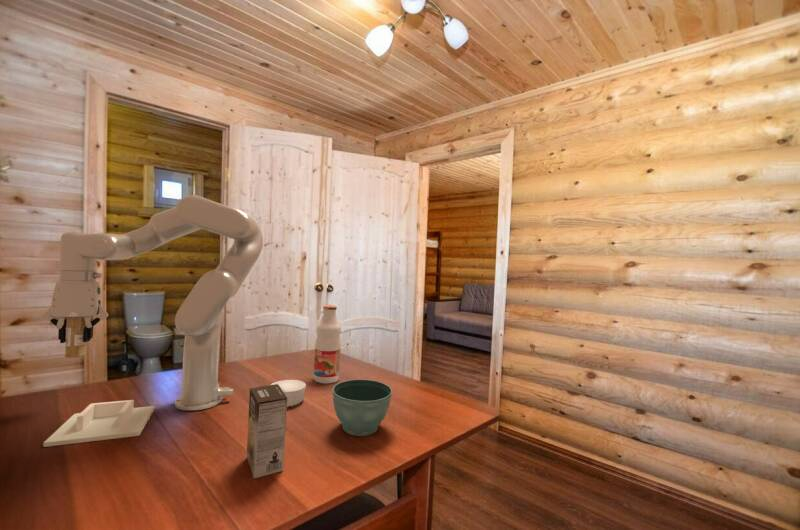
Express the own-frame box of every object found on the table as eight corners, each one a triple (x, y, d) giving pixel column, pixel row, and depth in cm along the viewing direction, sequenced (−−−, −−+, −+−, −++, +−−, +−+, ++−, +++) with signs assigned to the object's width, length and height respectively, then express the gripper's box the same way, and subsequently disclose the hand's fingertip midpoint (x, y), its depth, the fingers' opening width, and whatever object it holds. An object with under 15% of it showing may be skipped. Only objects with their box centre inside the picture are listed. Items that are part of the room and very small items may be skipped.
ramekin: (260, 404, 110) (260, 387, 110) (284, 392, 120) (285, 377, 120) (289, 412, 106) (290, 394, 106) (312, 399, 116) (312, 383, 116)
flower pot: (398, 422, 103) (400, 384, 103) (376, 449, 88) (378, 405, 87) (347, 411, 108) (349, 375, 108) (318, 435, 93) (321, 393, 93)
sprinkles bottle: (84, 357, 100) (86, 309, 100) (62, 359, 98) (64, 310, 97) (87, 353, 104) (89, 307, 104) (66, 355, 101) (67, 307, 101)
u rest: (154, 409, 103) (155, 393, 103) (139, 435, 88) (140, 417, 88) (74, 417, 96) (75, 400, 95) (43, 447, 81) (44, 427, 81)
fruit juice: (344, 380, 136) (347, 306, 135) (324, 386, 128) (328, 308, 128) (327, 374, 142) (331, 303, 141) (308, 379, 134) (312, 305, 134)
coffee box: (245, 457, 81) (248, 387, 81) (274, 450, 84) (277, 383, 84) (253, 479, 73) (257, 401, 73) (285, 471, 77) (288, 396, 76)
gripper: (119, 276, 107) (117, 337, 107) (45, 275, 100) (43, 340, 101) (110, 278, 100) (108, 343, 100) (30, 277, 94) (28, 346, 94)
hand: (75, 340), depth 101 cm, fingers closed on sprinkles bottle, 4 cm apart
